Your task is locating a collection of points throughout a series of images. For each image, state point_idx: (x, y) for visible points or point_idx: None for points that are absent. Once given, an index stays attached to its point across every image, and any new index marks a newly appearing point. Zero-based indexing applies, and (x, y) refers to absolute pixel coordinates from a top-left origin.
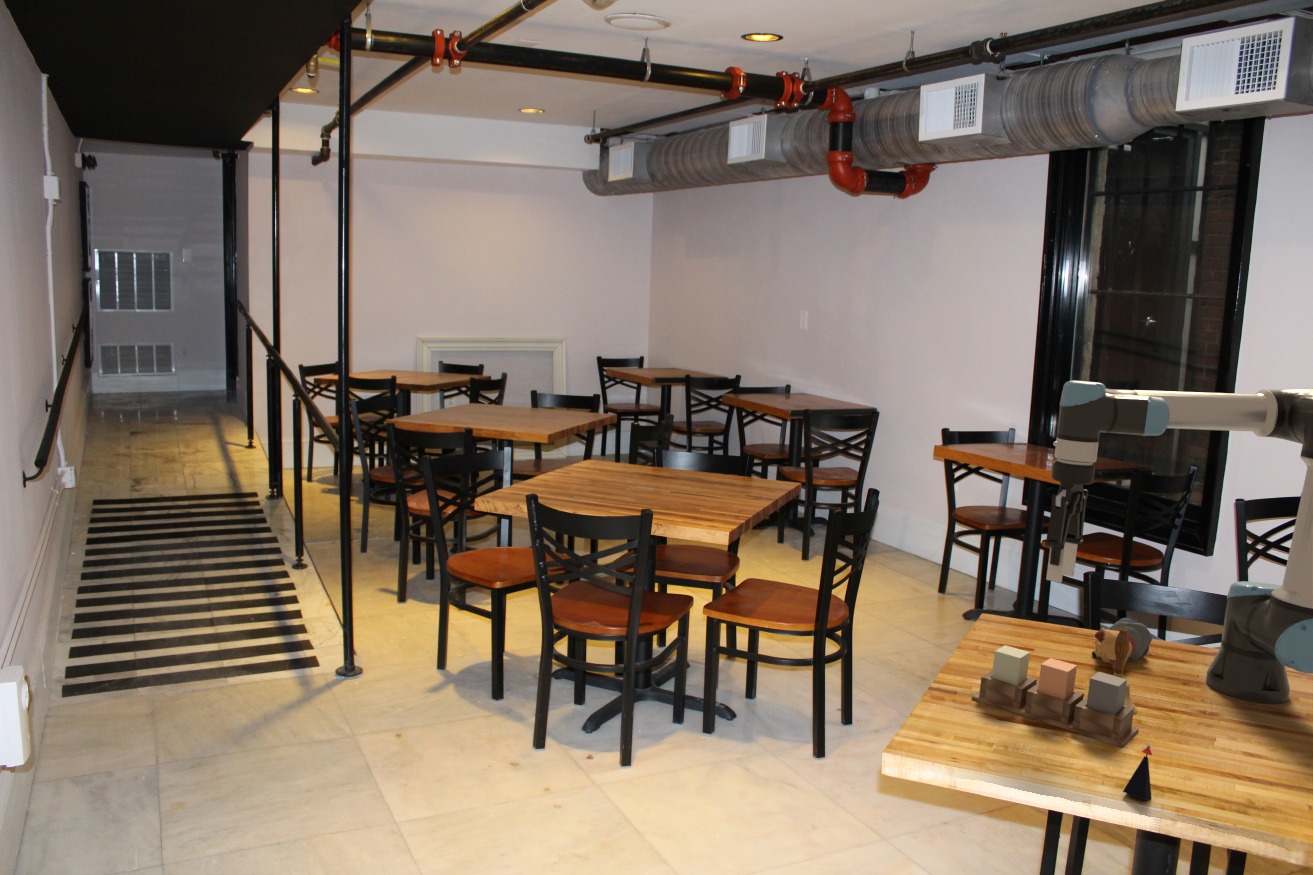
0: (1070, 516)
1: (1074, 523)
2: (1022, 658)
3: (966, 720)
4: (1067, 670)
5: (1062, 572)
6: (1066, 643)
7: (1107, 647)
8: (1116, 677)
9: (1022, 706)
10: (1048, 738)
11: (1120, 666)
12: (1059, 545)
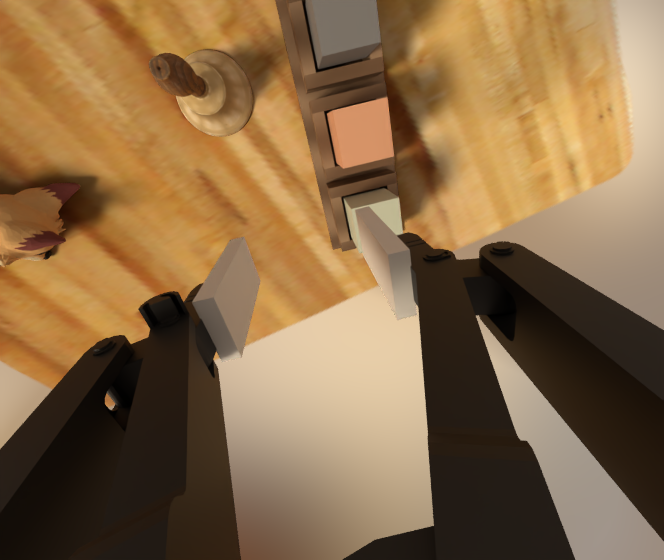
0: (450, 427)
1: (198, 410)
2: (385, 199)
3: (474, 187)
4: (380, 103)
5: (366, 218)
6: (53, 308)
7: (43, 223)
8: (319, 3)
9: (375, 171)
10: (439, 78)
11: (197, 76)
12: (513, 246)
